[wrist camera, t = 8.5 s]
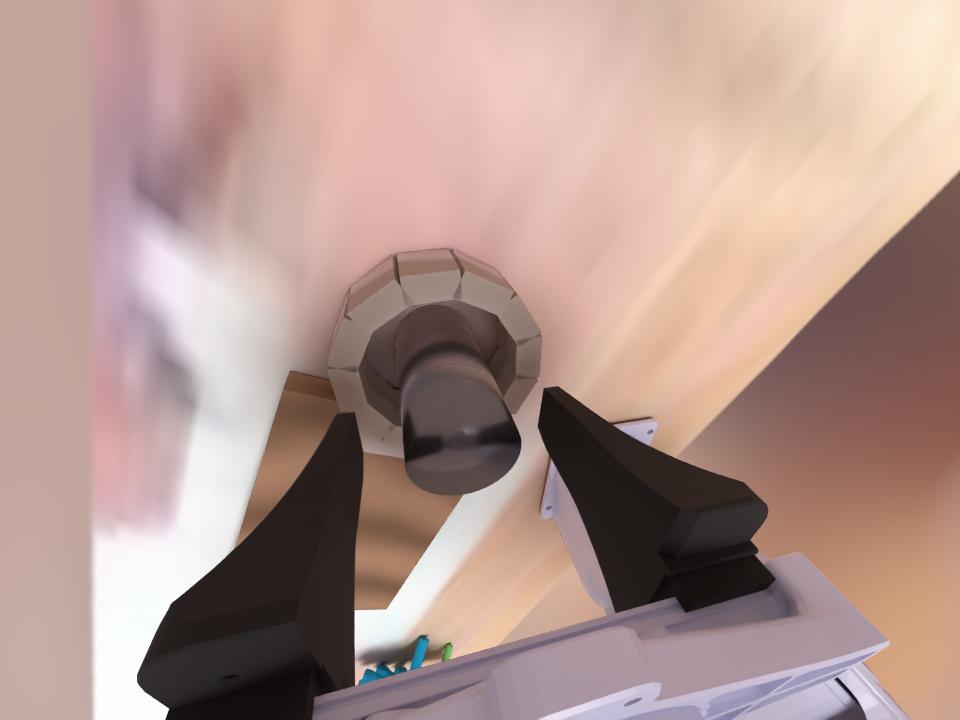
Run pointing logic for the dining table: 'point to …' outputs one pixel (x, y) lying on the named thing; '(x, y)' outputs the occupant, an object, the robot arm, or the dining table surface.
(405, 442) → the hinge pin
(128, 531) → the dining table surface
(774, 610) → the robot arm
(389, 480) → the brown piece
